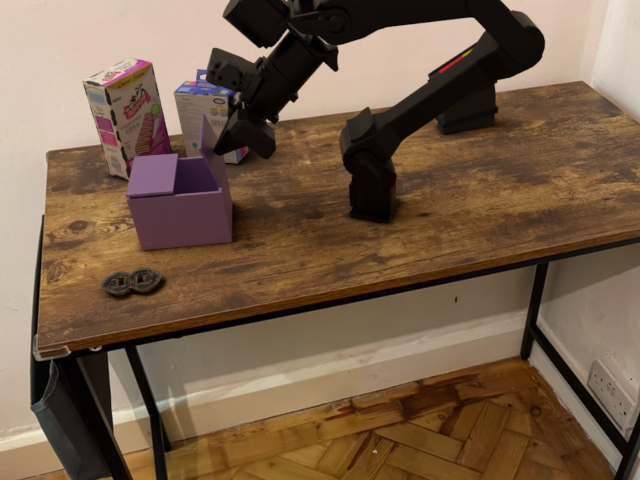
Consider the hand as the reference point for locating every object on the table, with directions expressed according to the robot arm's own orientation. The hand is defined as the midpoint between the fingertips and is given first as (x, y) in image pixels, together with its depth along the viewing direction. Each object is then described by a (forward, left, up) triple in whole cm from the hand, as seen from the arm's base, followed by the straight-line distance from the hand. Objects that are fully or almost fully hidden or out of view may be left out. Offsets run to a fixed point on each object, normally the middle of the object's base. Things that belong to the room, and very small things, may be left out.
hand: (216, 153), depth 95 cm
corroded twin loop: (+6, +18, -12) cm, 22 cm away
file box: (+6, +3, -12) cm, 13 cm away
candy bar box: (+23, -12, -12) cm, 28 cm away
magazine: (-27, -42, -12) cm, 51 cm away
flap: (+1, 0, 0) cm, 1 cm away
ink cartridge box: (+12, -19, -12) cm, 25 cm away
